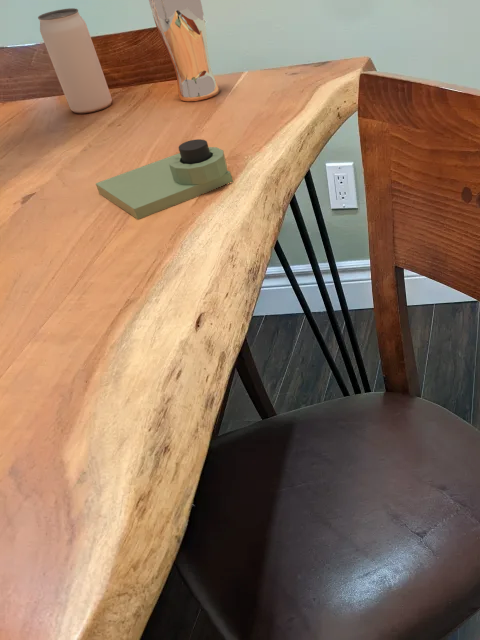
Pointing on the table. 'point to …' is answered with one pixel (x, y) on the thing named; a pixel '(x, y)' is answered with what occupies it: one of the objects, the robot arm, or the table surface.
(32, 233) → the table surface
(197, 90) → the beer glass
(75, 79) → the can
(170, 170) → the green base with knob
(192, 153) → the button
